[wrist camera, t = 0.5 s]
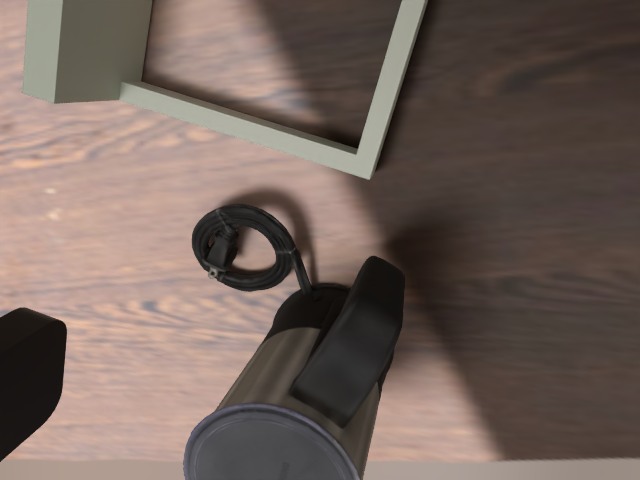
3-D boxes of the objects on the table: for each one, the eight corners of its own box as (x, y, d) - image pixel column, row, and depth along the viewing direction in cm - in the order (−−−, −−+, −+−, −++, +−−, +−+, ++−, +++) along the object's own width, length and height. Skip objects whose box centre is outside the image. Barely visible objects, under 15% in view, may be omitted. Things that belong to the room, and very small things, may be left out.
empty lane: (137, -110, 32) (39, -173, 24) (438, -32, 29) (437, -74, 22) (113, 90, 36) (22, 93, 28) (374, 173, 34) (354, 200, 26)
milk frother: (376, 411, 39) (341, 592, 25) (186, 351, 41) (59, 486, 28) (427, 239, 34) (418, 344, 21) (210, 181, 37) (70, 241, 23)
